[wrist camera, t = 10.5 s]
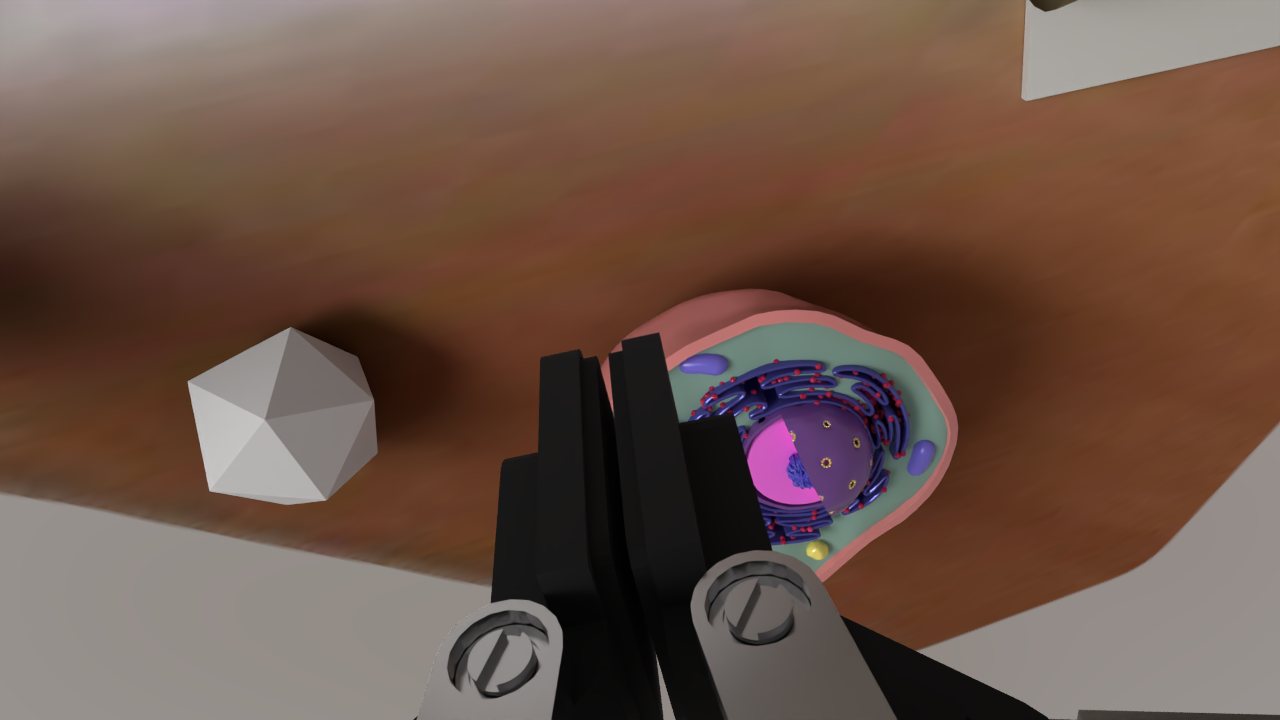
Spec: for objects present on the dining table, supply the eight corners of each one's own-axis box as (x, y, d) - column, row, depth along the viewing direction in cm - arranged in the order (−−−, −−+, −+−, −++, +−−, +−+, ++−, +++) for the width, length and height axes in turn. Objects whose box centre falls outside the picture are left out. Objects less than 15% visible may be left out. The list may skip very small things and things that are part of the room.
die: (283, 262, 43) (114, 391, 37) (425, 354, 41) (271, 502, 36) (301, 359, 49) (159, 481, 44) (423, 441, 48) (293, 578, 42)
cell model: (479, 347, 46) (460, 495, 36) (837, 170, 42) (920, 284, 32) (628, 546, 54) (644, 706, 45) (935, 415, 51) (1022, 560, 41)
